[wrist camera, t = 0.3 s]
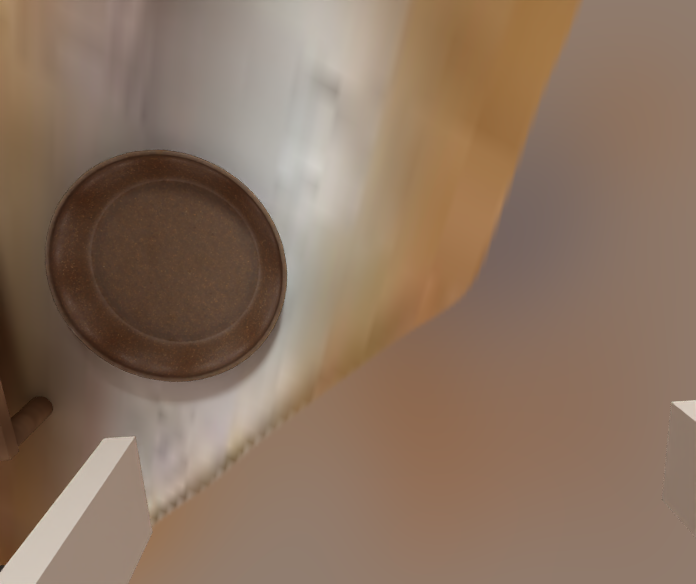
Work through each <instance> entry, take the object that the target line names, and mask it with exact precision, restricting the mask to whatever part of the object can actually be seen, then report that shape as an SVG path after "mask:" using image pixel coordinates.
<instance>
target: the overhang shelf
mask: <svg viewBox="0 0 696 584" xmlns="http://www.w3.org/2000/svg"><path fill="white" fill-rule="evenodd" d="M52 410H53V406H52V403H51V402H50V401H49V400H48V399H47V398H45V397H35V398H33V399H32V400H31V401H30V402H29V403H27V404H26V405H25V406H24V407H23V408H22V409H21V410H20V411H19V412H17V413H16V414H15V415H14V416H13V417H12V418H10V415H9V411H8V407H7V403H6V399H5V395H4V392H3V388H2V384H1V380H0V461H5V460H11V459H12V458H13V457H14V456H15V455H16V454H17V453H18V452H19V449H18V446H19V445H20V444H21V443H22V442H23V441H24V440H25V439H26V438H27V437H28V436H29V435H30V434H31V433H32V432H33V431H34V430H35V429H36V428H37V427H38V426H39V425H40V424H41V423H42V422H43V421H44V420H45V419H46V418H47V417H48V416H49V415H50V414H51V413H52Z"/></svg>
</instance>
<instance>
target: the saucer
mask: <svg viewBox="0 0 696 584" xmlns="http://www.w3.org/2000/svg"><path fill="white" fill-rule="evenodd" d="M45 264H46V274H47V278H48V283H49V287H50V290H51V293H52V296H53V300H54V302H55V304H56V306H57V308H58V310H59V312H60V314H61V316H62V317H63V319H64V320H65V322H66V323H67V325H68V326H69V328H70V329H71V330H72V331H73V333H74V334H75V335H76V336H77V337H78V338H79V339H80V340H81V341H82V342H83V343H84V344H85V345H86V346H87V347H88V348H89V349H90V350H92V351H93V352H94V353H95V354H97V355H98V356H99V357H101V358H102V359H104V360H105V361H107V362H109V363H110V364H112V365H114V366H116V367H118V368H120V369H122V370H124V371H126V372H129V373H132V374H135V375H138V376H141V377H145V378H149V379H154V380H161V381H169V382H183V381H193V380H200V379H204V378H208V377H212V376H215V375H218V374H221V373H223V372H225V371H227V370H230V369H232V368H233V367H235V366H237V365H238V364H240V363H241V362H243V361H244V360H246V359H247V358H248V357H250V356H251V355H252V354H253V353H254V352H255V351H256V350H257V349H258V348H259V347H260V346H261V345H262V344H263V342H264V341H265V340H266V339H267V337H268V336H269V334H270V333H271V331H272V329H273V328H274V326H275V324H276V322H277V320H278V317H279V315H280V312H281V310H282V306H283V303H284V299H285V293H286V287H287V267H286V259H285V254H284V249H283V245H282V242H281V239H280V236H279V233H278V231H277V229H276V226H275V224H274V222H273V221H272V219H271V217H270V215H269V213H268V212H267V210H266V209H265V207H264V206H263V205H262V203H261V202H260V201H259V199H258V198H257V197H256V196H255V195H254V193H253V192H252V191H250V190H249V189H248V188H247V187H246V186H245V185H244V184H243V183H242V182H241V181H239V180H238V179H237V178H236V177H234V176H233V175H231V174H230V173H228V172H227V171H225V170H223V169H222V168H220V167H218V166H216V165H215V164H212V163H210V162H208V161H206V160H203V159H201V158H198V157H195V156H192V155H189V154H185V153H180V152H175V151H168V150H145V151H135V152H130V153H126V154H122V155H119V156H116V157H113V158H110V159H108V160H106V161H104V162H102V163H100V164H98V165H96V166H95V167H93V168H91V169H90V170H88V171H87V172H86V173H85V174H83V175H82V176H81V177H80V178H79V179H78V180H77V181H76V182H75V183H73V185H72V186H71V187H70V188H69V189H68V191H67V192H66V193H65V195H64V196H63V197H62V199H61V201H60V202H59V204H58V206H57V207H56V210H55V212H54V214H53V217H52V219H51V222H50V226H49V229H48V234H47V239H46V247H45Z"/></svg>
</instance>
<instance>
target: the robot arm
mask: <svg viewBox="0 0 696 584" xmlns="http://www.w3.org/2000/svg"><path fill="white" fill-rule="evenodd" d="M666 452H667V453H666V462H665V473H664V484H663V493H662V500H663V502H664V503H665V504H666V505H667V506H668V507H669V508H670V509H671V511H672V512H673V513H674V514H675V515H676V516H677V517H678V518H679V520H680V521H681V522H682V523H683V524H684V525H685V526H686V527H687V529H689V531H690V532H691V533H692V534H693V535H694V536H695V537H696V400H694V401H679V402H671V410H670V420H669V431H668V442H667V451H666ZM151 534H152V527H151V522H150V516H149V510H148V505H147V499H146V494H145V488H144V482H143V477H142V471H141V465H140V460H139V454H138V449H137V443H136V437H135V436H131V437H115V438H104V439H103V440H102V441H101V443H100V444H99V445H98V447H97V448H96V449H95V451H94V452H93V453H92V454H91V456H90V457H89V458H88V460H87V461H86V462H85V463H84V465H83V466H82V467H81V469H80V470H79V471H78V472H77V474H76V475H75V476H74V478H73V479H72V480H71V482H70V483H69V484H68V485H67V487H66V488H65V489H64V491H63V492H62V493H61V494H60V496H59V497H58V498H57V500H56V501H55V502H54V503H53V505H52V506H51V507H50V509H49V510H48V511H47V512H46V514H45V515H44V516H43V518H42V519H41V520H40V522H39V523H38V524H37V525H36V527H35V528H34V529H33V531H32V532H31V533H30V534H29V536H28V537H27V538H26V540H25V541H24V542H23V543H22V545H21V546H20V547H19V549H18V550H17V551H16V552H15V554H14V555H13V556H12V558H11V559H10V560H9V562H8V563H7V564H6V565H1V566H0V584H128V583H129V581H130V579H131V577H132V574H133V572H134V570H135V568H136V566H137V564H138V562H139V560H140V558H141V555H142V553H143V551H144V549H145V547H146V545H147V543H148V540H149V538H150V536H151Z"/></svg>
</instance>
